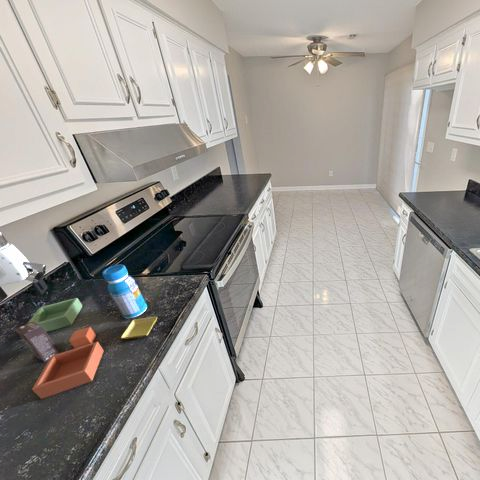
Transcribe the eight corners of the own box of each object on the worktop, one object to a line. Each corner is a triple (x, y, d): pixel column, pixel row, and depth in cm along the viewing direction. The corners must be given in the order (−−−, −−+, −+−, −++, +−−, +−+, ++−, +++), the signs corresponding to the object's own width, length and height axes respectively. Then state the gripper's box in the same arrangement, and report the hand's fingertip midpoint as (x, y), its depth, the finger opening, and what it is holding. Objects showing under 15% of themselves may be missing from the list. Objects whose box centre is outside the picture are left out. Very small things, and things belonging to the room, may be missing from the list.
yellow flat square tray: (159, 320, 94) (157, 315, 93) (149, 338, 86) (146, 334, 85) (135, 323, 93) (132, 319, 92) (122, 342, 86) (119, 338, 85)
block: (75, 350, 84) (68, 340, 82) (80, 340, 88) (74, 331, 85) (92, 345, 85) (85, 335, 83) (96, 335, 89) (90, 326, 87)
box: (62, 351, 84) (41, 325, 78) (45, 362, 80) (22, 336, 75) (53, 346, 86) (32, 320, 81) (36, 357, 82) (13, 330, 77)
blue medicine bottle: (127, 322, 94) (102, 279, 85) (119, 313, 98) (95, 271, 89) (151, 309, 100) (131, 267, 90) (143, 301, 104) (122, 260, 95)
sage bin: (31, 336, 91) (24, 327, 88) (47, 315, 100) (40, 307, 98) (71, 325, 95) (65, 316, 92) (82, 306, 104) (77, 297, 102)
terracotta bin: (41, 399, 69) (31, 389, 67) (59, 365, 79) (51, 355, 77) (92, 381, 73) (84, 371, 71) (104, 351, 83) (97, 341, 81)
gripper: (-73, 259, 62) (-25, 311, 70) (16, 244, 67) (52, 295, 74) (-45, 245, 68) (-4, 295, 76) (34, 233, 73) (65, 281, 81)
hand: (23, 295), depth 75 cm, fingers open, 9 cm apart
